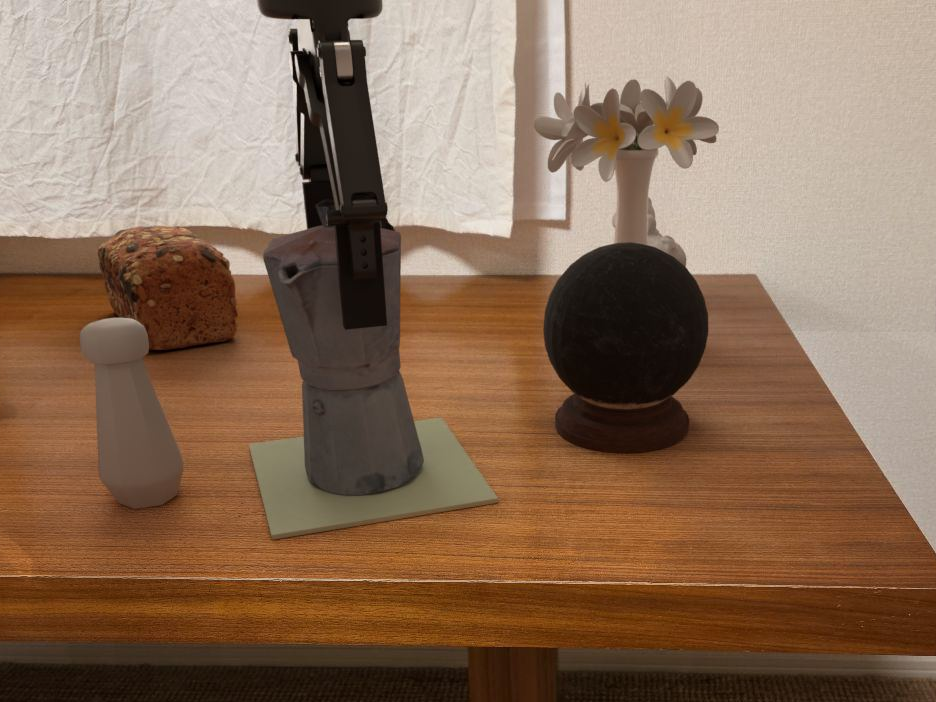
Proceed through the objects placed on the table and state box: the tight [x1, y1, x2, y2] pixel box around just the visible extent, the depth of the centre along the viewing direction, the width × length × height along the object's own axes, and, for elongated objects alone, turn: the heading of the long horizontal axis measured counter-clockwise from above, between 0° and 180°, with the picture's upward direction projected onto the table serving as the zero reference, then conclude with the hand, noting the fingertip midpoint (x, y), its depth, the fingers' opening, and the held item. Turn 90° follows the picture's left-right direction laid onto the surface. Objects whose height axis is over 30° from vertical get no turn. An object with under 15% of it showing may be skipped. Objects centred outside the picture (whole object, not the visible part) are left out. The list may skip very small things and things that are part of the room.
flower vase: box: [533, 76, 720, 245], centre depth 97 cm, size 13×18×25 cm
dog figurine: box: [611, 196, 687, 268], centre depth 116 cm, size 5×13×11 cm, turn 23°
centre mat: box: [248, 417, 499, 541], centre depth 77 cm, size 16×16×1 cm
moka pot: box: [262, 200, 424, 495], centre depth 72 cm, size 10×15×20 cm, turn 166°
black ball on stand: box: [542, 242, 710, 454], centre depth 81 cm, size 13×13×15 cm
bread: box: [97, 225, 239, 351], centre depth 107 cm, size 19×11×10 cm, turn 30°
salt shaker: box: [79, 317, 184, 510], centre depth 71 cm, size 6×6×13 cm
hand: (346, 297), depth 70 cm, fingers open, 13 cm apart
